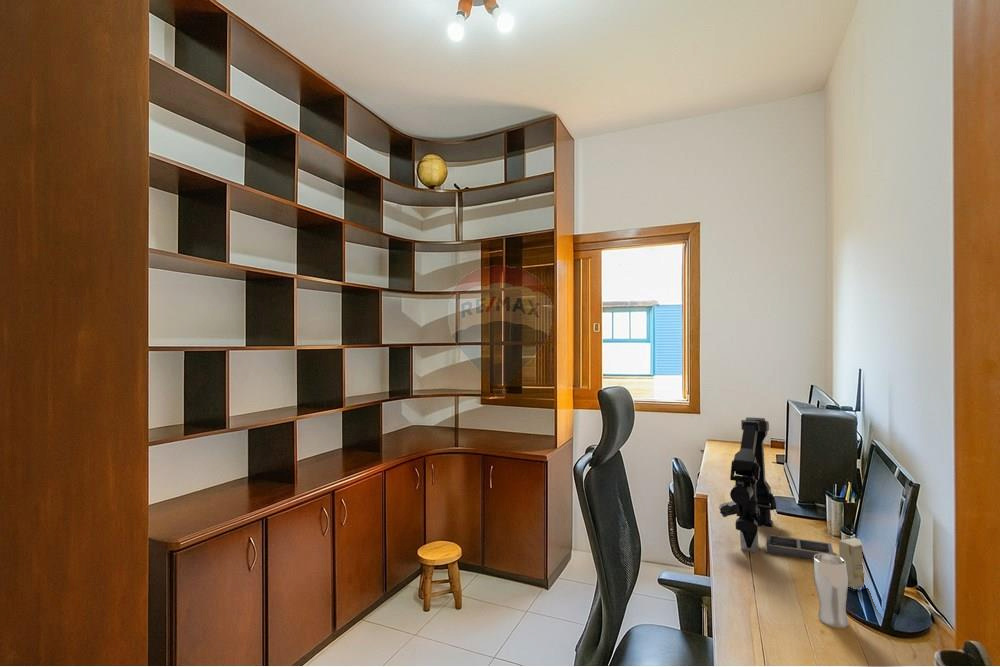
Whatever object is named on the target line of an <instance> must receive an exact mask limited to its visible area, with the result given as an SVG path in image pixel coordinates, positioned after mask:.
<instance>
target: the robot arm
mask: <svg viewBox="0 0 1000 667" xmlns="http://www.w3.org/2000/svg"><path fill="white" fill-rule="evenodd" d="M740 423H741V425H740V426H741V427H740V428H741V431H742V436H741V442H740V448H739V451H737V452H736V453H735V454H734V458H733V460H732V461H731V466H730V476H729V478H730V479H729V480H730V481H734V483H735V485H734V486H733V487H732V489H731V490H730V493H729V495H730V498H731V500H732V501H728V502H724V503H720V505H719V507H718V508H719V511H720V512H719V513H720V514H721V515H722V518H726V517H729V516H733V515H736V517H738V518H736V521H735V530H737V531H739V532H740V531H741V532H742V533H743V536H744V539H745V542H746V546H747V548H751V546H752V544H753V541H754V539H755V536H756V534H757V532H758V531H759V527H765V528H773V525H774V524H773V523H774V521H773V520H772V514H771V512H772V511H774V510H777V501H776V498H775V496H774V494H773V493H772V488H771V486H770V484H769V483H768V481H767V480H766V466H765V450H764V448H765V447H764V441H765V438H766V437H767V436H768V432H769V431H770V423H769V421H768V420H766V418H765V417H745V419H741V422H740Z"/></svg>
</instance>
